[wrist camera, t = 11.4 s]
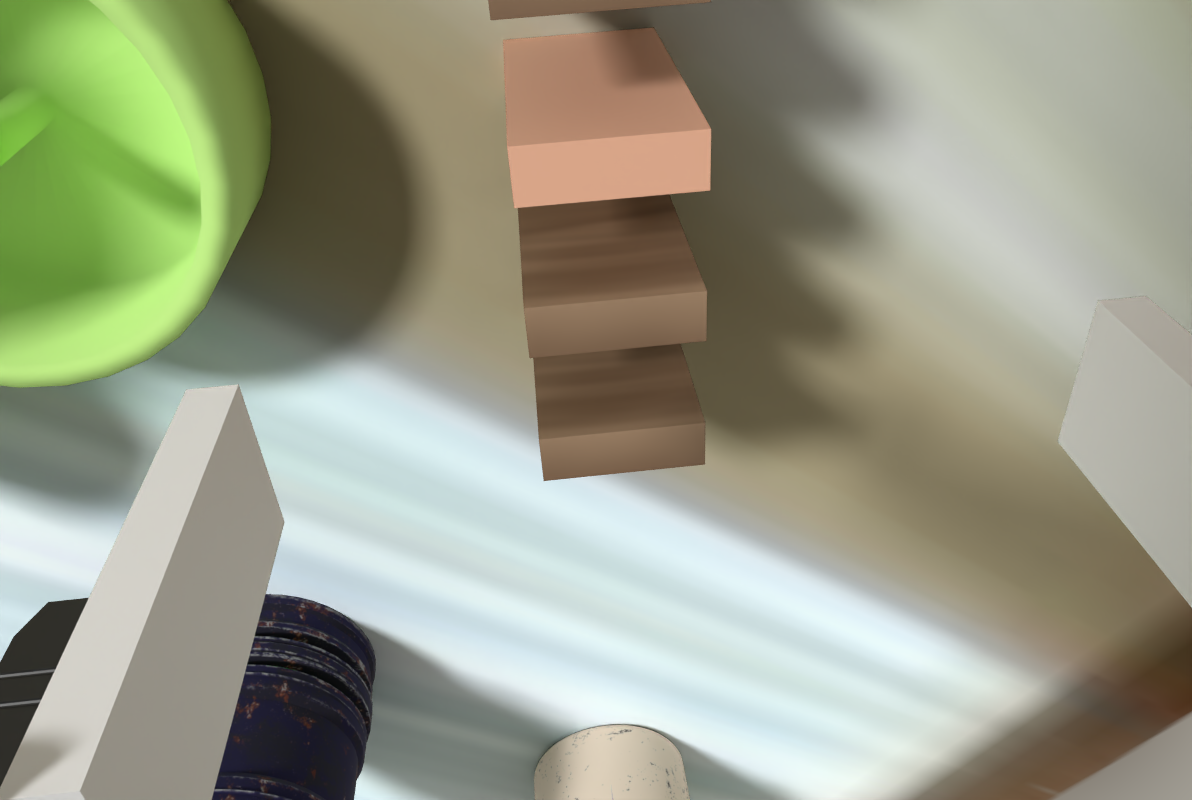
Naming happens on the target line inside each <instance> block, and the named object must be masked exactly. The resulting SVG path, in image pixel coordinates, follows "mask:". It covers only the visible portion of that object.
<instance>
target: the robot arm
mask: <svg viewBox="0 0 1192 800" xmlns="http://www.w3.org/2000/svg"><path fill="white" fill-rule="evenodd" d="M1058 443H1059V444H1060V445H1061V446H1062V448H1063V449H1064V450H1065V451H1066V453H1067V454H1068V455H1069V456H1070V458H1071V459H1072V460H1073V461H1074V463H1075V464H1076V465H1077V466H1078V467H1079V469H1080V470H1081V471H1082V472H1083V474H1084V475H1085V476H1086V477H1087V479H1088V480H1089V481H1090V482H1091V484H1092V485H1093V486H1094V487H1095V488H1096V490H1097V491H1098V492H1099V493H1100V495H1101V496H1102V497H1103V498H1104V500H1105V501H1106V502H1107V503H1108V505H1109V506H1110V507H1111V508H1112V510H1113V511H1114V512H1115V513H1116V514H1117V516H1118V517H1119V518H1120V519H1121V521H1122V522H1123V523H1124V524H1125V526H1126V527H1127V528H1128V529H1129V531H1130V532H1131V533H1132V534H1133V536H1134V537H1135V538H1136V539H1137V540H1138V542H1139V543H1140V544H1141V545H1142V547H1143V548H1144V549H1145V550H1146V552H1147V553H1148V554H1149V555H1150V557H1151V558H1152V559H1153V560H1154V561H1155V563H1156V564H1157V565H1158V566H1159V568H1160V569H1161V570H1162V571H1163V573H1164V574H1165V575H1166V576H1167V578H1168V579H1169V580H1170V581H1171V583H1172V584H1173V585H1174V586H1175V587H1176V589H1177V590H1178V591H1179V592H1180V594H1181V595H1182V596H1183V597H1184V599H1185V600H1186V601H1187V602H1188V604H1189V605H1190V606H1191V607H1192V334H1190V333H1189V332H1188V331H1187V330H1186V329H1185V328H1183V327H1182V326H1181V325H1180V324H1179V323H1177V322H1176V321H1175V320H1174V319H1173V318H1172V317H1170V316H1169V315H1168V314H1167V313H1166V312H1164V311H1163V310H1162V309H1161V308H1160V307H1159V306H1157V305H1156V304H1155V303H1154V302H1153V301H1152V300H1150V299H1149V298H1148V297H1147V296H1139V297H1129V298H1119V299H1108V300H1098V302H1097V305H1096V309H1095V312H1094V316H1093V319H1092V323H1091V326H1090V330H1089V333H1088V337H1087V340H1086V344H1085V347H1084V351H1083V354H1082V358H1081V361H1080V365H1079V368H1078V372H1077V375H1076V379H1075V382H1074V386H1073V389H1072V393H1071V396H1070V400H1069V403H1068V407H1067V410H1066V414H1065V417H1064V421H1063V424H1062V428H1061V431H1060V435H1059V438H1058ZM283 526H284V519H283V516H282V513H281V510H280V507H279V504H278V501H277V498H276V495H275V492H274V489H273V486H272V483H271V480H270V477H269V474H268V471H267V468H266V465H265V462H264V459H263V456H262V453H261V450H260V447H259V444H258V441H257V438H256V435H255V432H254V429H253V426H252V423H251V420H250V417H249V414H248V411H247V408H246V405H245V402H244V399H243V396H242V393H241V390H240V387H239V384H238V385H227V386H217V387H207V388H197V389H186V391H185V393H184V395H183V398H182V400H181V402H180V404H179V406H178V408H177V410H176V413H175V415H174V417H173V419H172V421H171V423H170V425H169V428H168V430H167V432H166V434H165V436H164V438H163V440H162V442H161V445H160V447H159V449H158V451H157V453H156V455H155V457H154V460H153V462H152V464H151V466H150V468H149V470H148V472H147V475H146V477H145V479H144V481H143V483H142V485H141V487H140V490H139V492H138V494H137V496H136V498H135V500H134V502H133V505H132V507H131V509H130V511H129V513H128V515H127V517H126V520H125V522H124V524H123V526H122V528H121V530H120V532H119V534H118V537H117V539H116V541H115V543H114V545H113V547H112V549H111V552H110V554H109V556H108V558H107V560H106V562H105V564H104V567H103V569H102V571H101V573H100V575H99V577H98V579H97V582H96V584H95V586H94V588H93V590H92V592H91V594H90V597H89V598H83V599H74V600H64V601H55V602H48V603H47V604H46V605H45V606H44V607H43V608H42V609H41V610H40V611H39V612H38V613H37V614H36V615H35V616H34V617H33V618H32V619H31V620H30V621H29V622H28V623H27V624H26V625H25V626H24V627H23V628H22V629H21V630H20V631H19V632H18V633H17V634H16V635H15V636H14V637H13V639H12V641H11V643H10V645H9V647H8V649H7V651H6V652H5V654H4V656H3V658H2V660H1V662H0V800H212V796H213V792H214V788H215V784H216V781H217V777H218V773H219V769H220V765H221V762H222V758H223V754H224V750H225V746H226V743H227V739H228V735H229V731H230V727H231V724H232V720H233V716H234V712H235V708H236V705H237V701H238V697H239V693H240V689H241V685H242V682H243V678H244V674H245V670H246V666H247V663H248V659H249V655H250V651H251V647H252V644H253V640H254V636H255V632H256V628H257V625H258V621H259V617H260V613H261V609H262V606H263V602H264V598H265V594H266V590H267V587H268V583H269V579H270V575H271V571H272V568H273V564H274V560H275V556H276V552H277V548H278V545H279V541H280V537H281V533H282V529H283Z"/></svg>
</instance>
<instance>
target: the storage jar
mask: <svg viewBox="0 0 1192 800" xmlns="http://www.w3.org/2000/svg"><path fill="white" fill-rule="evenodd" d="M375 665H376V659H375V655H374V650H373V648H372V646H371V643H370V641H369V639H368V638H367V637H366V635H365V634H364V633H363V631H362V630H361V629H360V628H359V627H358V626H357V625H356V624H355V623H354V622H353V621H351V620H350V619H348V618H347V617H345V616H344V615H343V614H341V613H339V612H337V611H335V610H333V609H331V608H330V607H328V606H325V605H322V604H319V603H317V602H314V601H311V600H307V599H303V598H299V597H292V596H285V595H268V594H265V598H264V602H263V606H262V609H261V613H260V617H259V621H258V625H257V628H256V632H255V636H254V640H253V644H252V647H251V651H250V655H249V659H248V663H247V666H246V670H245V674H244V678H243V682H242V685H241V689H240V693H239V697H238V701H237V705H236V708H235V712H234V716H233V720H232V724H231V727H230V731H229V735H228V739H227V743H226V746H225V750H224V754H223V758H222V762H221V765H220V769H219V773H218V777H217V781H216V784H215V788H214V792H213V796H212V800H354V795H355V787H356V780H357V778H358V777H359V775H360V773H361V771H362V767H363V763H364V757H365V749H366V742H367V740H368V737H369V733H370V727H371V719H372V685H373V681H374V677H375Z"/></svg>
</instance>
